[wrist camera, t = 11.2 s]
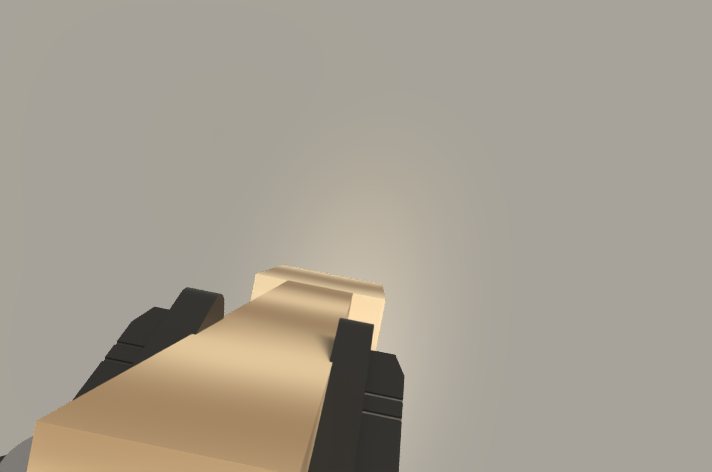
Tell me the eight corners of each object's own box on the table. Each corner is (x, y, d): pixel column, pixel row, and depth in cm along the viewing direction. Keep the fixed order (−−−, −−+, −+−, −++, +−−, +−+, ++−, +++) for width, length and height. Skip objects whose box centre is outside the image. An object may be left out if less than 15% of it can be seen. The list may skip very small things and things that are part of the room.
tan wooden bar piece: (349, 929, 5) (432, 503, 5) (-171, 809, 5) (-93, 394, 5) (366, 364, 26) (382, 284, 26) (267, 344, 26) (282, 264, 26)
